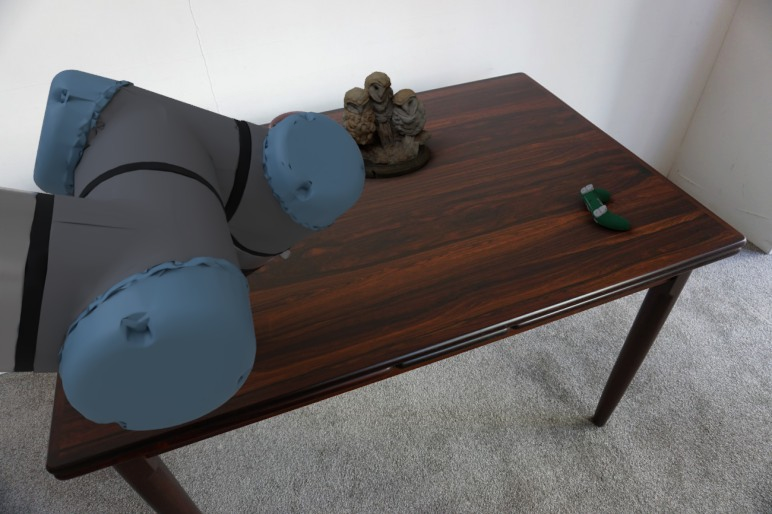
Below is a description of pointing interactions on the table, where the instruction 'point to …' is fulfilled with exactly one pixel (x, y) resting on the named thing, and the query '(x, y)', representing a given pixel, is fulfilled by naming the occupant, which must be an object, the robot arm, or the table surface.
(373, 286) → the table surface
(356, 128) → the owl figurine
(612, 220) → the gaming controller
